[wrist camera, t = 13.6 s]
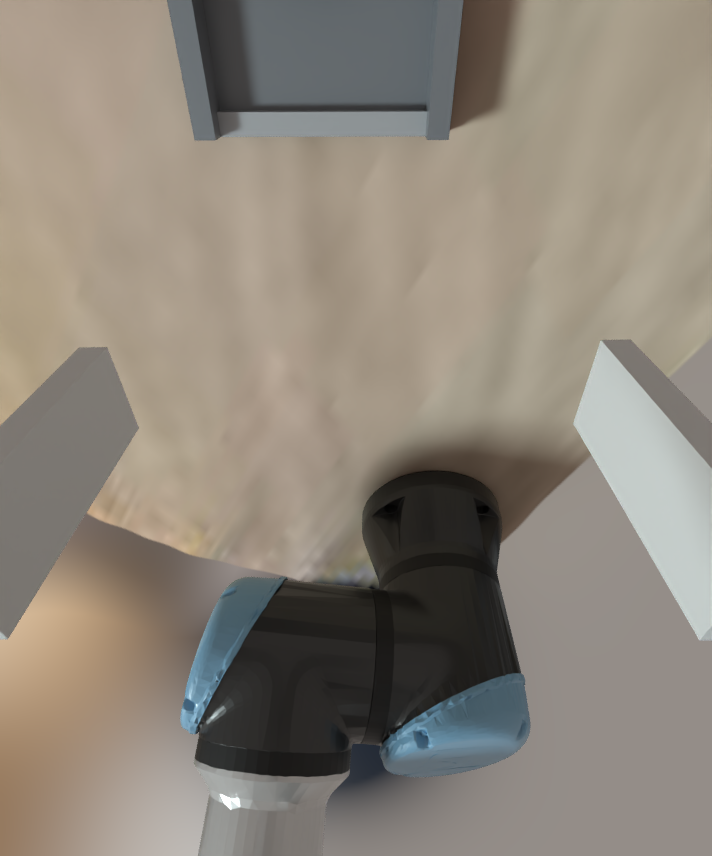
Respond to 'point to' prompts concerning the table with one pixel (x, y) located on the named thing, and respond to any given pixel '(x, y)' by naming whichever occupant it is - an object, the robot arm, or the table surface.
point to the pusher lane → (318, 66)
